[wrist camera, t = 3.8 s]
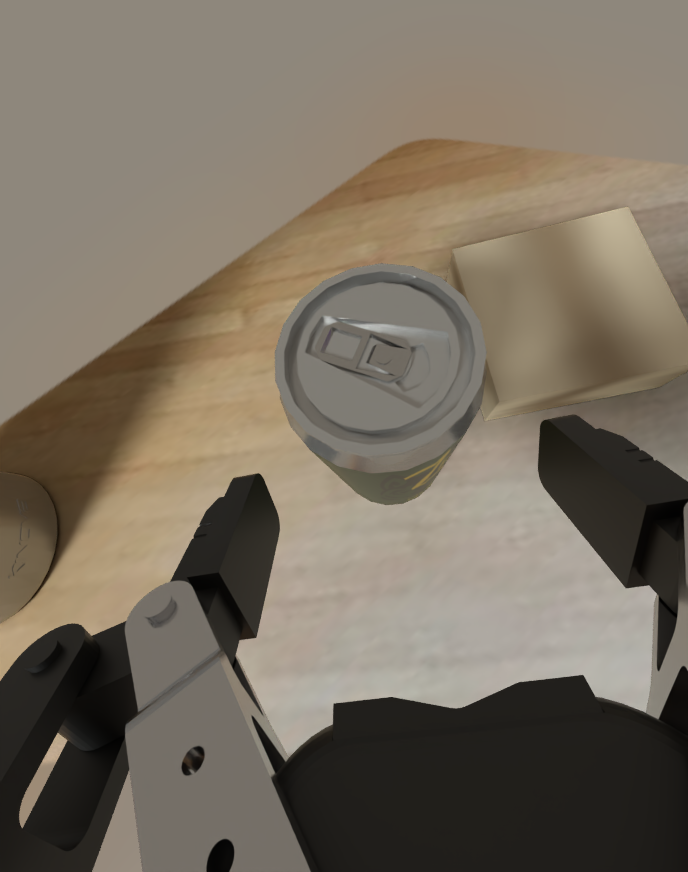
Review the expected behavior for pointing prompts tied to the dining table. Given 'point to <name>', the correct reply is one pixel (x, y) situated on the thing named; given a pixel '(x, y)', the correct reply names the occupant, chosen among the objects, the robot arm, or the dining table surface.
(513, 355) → the cream square block
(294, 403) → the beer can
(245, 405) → the dining table surface
